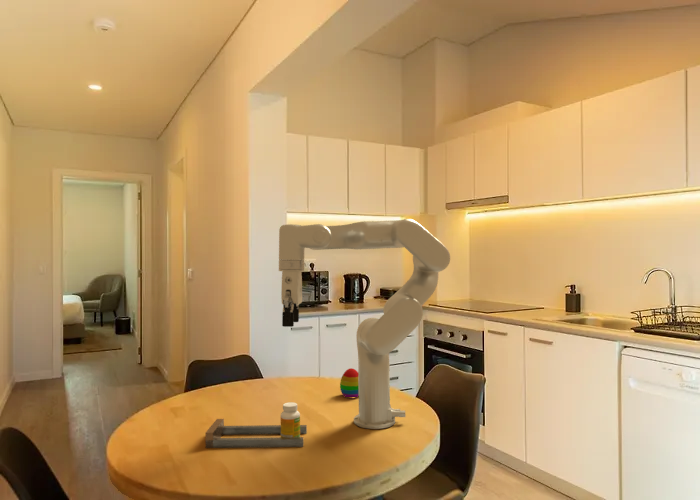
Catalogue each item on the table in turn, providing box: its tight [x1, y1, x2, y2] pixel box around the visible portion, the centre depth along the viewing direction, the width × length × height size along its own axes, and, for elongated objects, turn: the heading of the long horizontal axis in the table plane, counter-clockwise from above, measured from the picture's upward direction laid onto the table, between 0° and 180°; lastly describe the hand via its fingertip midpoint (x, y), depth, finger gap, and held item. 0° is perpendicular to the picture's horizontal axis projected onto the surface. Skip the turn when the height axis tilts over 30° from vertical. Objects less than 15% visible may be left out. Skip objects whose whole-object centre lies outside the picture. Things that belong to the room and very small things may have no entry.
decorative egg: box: [339, 368, 359, 398], centre depth 176 cm, size 8×8×10 cm
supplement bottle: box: [280, 402, 301, 437], centre depth 135 cm, size 5×5×10 cm
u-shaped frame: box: [205, 418, 308, 449], centre depth 135 cm, size 26×11×4 cm, turn 90°
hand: (290, 324), depth 144 cm, fingers open, 9 cm apart
